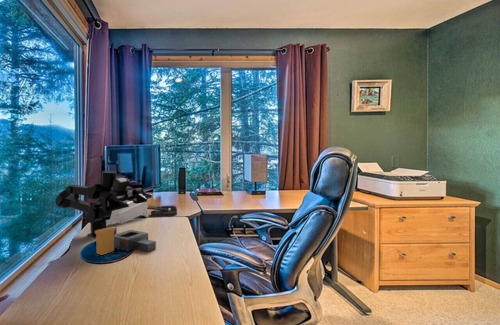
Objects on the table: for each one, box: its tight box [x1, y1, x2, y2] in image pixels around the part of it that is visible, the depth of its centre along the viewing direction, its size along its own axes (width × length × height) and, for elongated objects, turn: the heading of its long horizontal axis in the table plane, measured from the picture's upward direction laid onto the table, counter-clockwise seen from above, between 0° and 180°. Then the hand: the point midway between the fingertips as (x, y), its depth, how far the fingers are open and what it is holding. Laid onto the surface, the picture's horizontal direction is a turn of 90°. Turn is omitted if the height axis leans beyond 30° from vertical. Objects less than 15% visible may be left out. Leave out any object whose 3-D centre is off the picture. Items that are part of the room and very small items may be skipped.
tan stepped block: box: [95, 226, 115, 256], centre depth 104 cm, size 3×6×9 cm, turn 154°
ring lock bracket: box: [106, 225, 157, 253], centre depth 114 cm, size 28×11×6 cm, turn 64°
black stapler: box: [147, 204, 178, 217], centre depth 166 cm, size 9×7×25 cm
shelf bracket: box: [105, 196, 150, 226], centre depth 150 cm, size 6×25×13 cm, turn 148°
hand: (137, 202), depth 115 cm, fingers open, 9 cm apart
